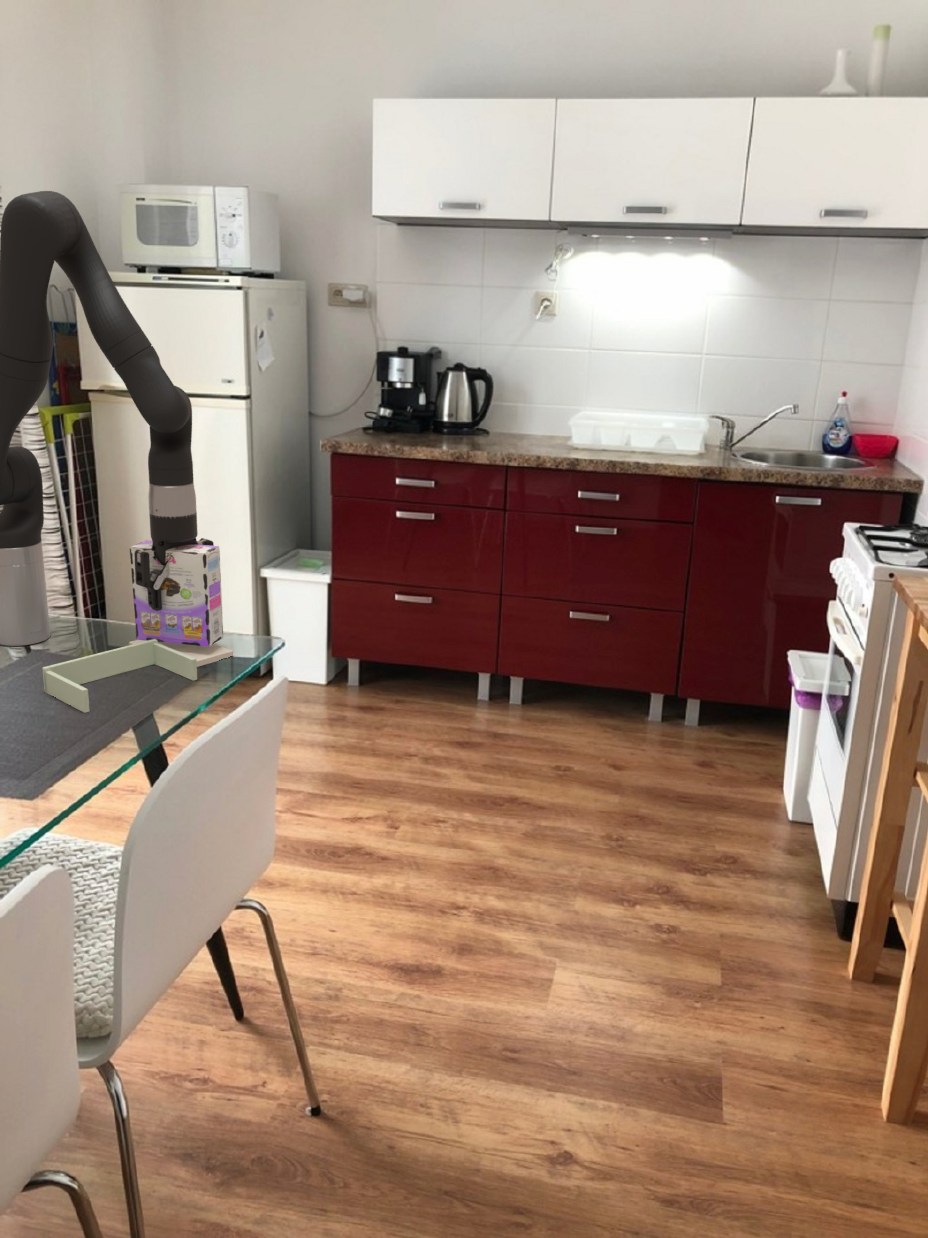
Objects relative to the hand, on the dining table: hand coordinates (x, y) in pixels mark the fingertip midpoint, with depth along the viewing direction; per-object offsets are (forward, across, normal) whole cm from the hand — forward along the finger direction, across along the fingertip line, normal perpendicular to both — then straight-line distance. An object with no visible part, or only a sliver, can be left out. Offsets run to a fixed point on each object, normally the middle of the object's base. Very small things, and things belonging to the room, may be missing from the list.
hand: (177, 604), depth 177 cm
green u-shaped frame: (+8, -15, -8) cm, 19 cm away
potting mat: (+8, 0, 0) cm, 8 cm away
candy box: (+6, 0, 0) cm, 6 cm away
